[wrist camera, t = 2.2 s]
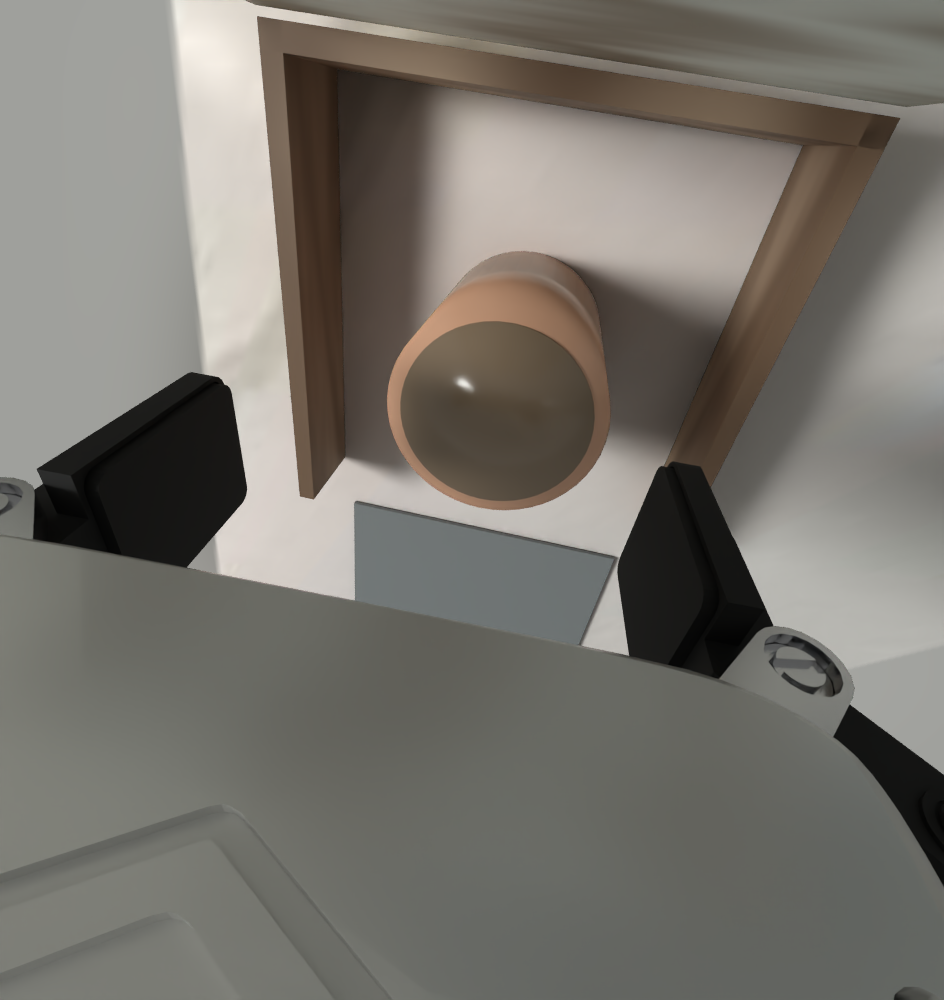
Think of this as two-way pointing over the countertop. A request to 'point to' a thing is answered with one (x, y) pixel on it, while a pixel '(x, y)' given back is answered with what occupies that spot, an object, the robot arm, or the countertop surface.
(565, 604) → the potting mat
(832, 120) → the wooden bench
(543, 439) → the flowerpot
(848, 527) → the countertop surface
